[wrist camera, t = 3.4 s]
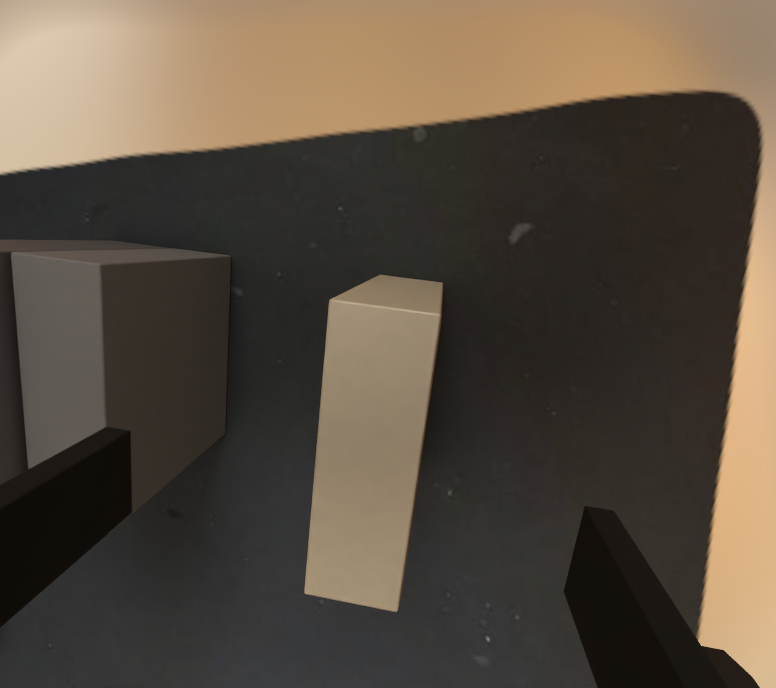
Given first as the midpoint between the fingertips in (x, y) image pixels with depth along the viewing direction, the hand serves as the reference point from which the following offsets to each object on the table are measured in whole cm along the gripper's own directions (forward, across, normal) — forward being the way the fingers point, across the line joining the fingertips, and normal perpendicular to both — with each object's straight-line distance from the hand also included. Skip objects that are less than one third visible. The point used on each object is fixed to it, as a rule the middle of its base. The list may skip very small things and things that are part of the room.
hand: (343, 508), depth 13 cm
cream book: (+13, 0, 0) cm, 13 cm away
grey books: (+14, -14, 0) cm, 19 cm away
